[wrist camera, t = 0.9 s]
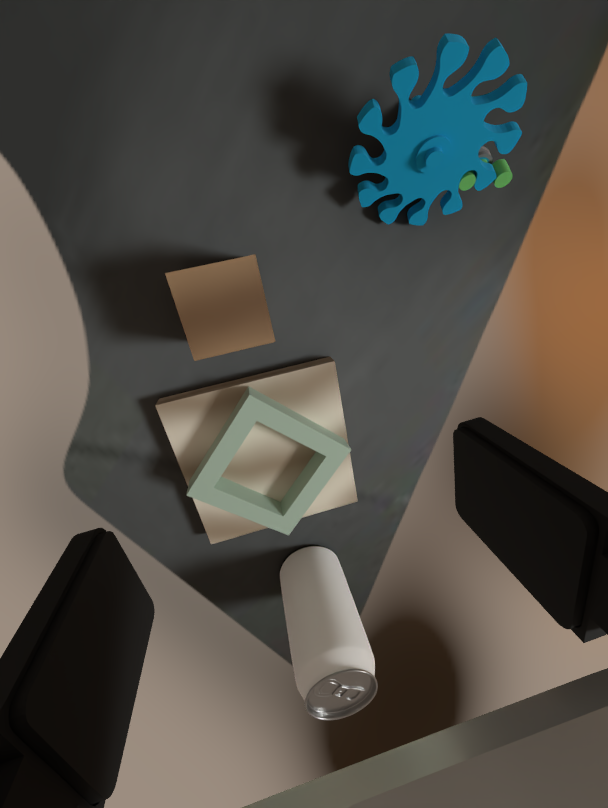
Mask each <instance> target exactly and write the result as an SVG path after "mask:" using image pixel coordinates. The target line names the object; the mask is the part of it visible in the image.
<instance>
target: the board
mask: <svg viewBox="0 0 608 808" xmlns="http://www.w3.org/2000/svg"><path fill="white" fill-rule="evenodd" d="M248 386H249V387H251V388H253V389H255V390H256V391H258V392H260V393H262V394H264V395H266V396H267V397H269V398H271V399H273V400H275V401H276V402H278V403H280V404H282V405H284V406H286V407H287V408H289V409H291V410H293V411H295V412H297V413H298V414H300V415H302V416H304V417H306V418H308V419H309V420H311V421H313V422H315V423H317V424H318V425H320V426H322V427H324V428H326V429H328V430H329V431H331V432H333V433H335V434H337V435H339V436H340V437H342V438H344V439H345V441H346V442H347V444H348V440H347V434H346V428H345V421H344V415H343V409H342V403H341V397H340V391H339V385H338V379H337V373H336V367H335V361H334V360H333V359H332V358H331V357H326V358H322V359H318V360H314V361H310V362H306V363H302V364H298V365H294V366H290V367H286V368H282V369H278V370H273V371H269V372H265V373H261V374H257V375H253V376H249V377H245V378H241V379H237V380H233V381H229V382H225V383H221V384H217V385H212V386H208V387H204V388H200V389H196V390H192V391H188V392H184V393H180V394H176V395H172V396H168V397H164V398H160V399H159V400H158V402H157V403H156V405H155V406H156V409H157V411H158V414H159V416H160V418H161V421H162V423H163V426H164V428H165V431H166V433H167V436H168V438H169V441H170V443H171V446H172V448H173V451H174V453H175V456H176V458H177V461H178V463H179V466H180V468H181V471H182V473H183V475H184V478H185V480H186V483H187V485H189V481H190V479H191V477H192V476H193V474H194V473H195V471H196V469H197V468H198V466H199V465H200V463H201V461H202V460H203V458H204V457H205V455H206V453H207V452H208V450H209V448H210V447H211V445H212V444H213V442H214V440H215V439H216V437H217V436H218V434H219V432H220V431H221V429H222V428H223V426H224V424H225V423H226V421H227V420H228V418H229V416H230V415H231V413H232V412H233V410H234V408H235V407H236V405H237V404H238V402H239V400H240V399H241V397H242V395H243V394H244V392H245V391H246V389H247V387H248ZM315 452H316V451H315V450H313V449H311V448H309V447H307V446H305V445H303V444H301V443H299V442H297V441H295V440H293V439H291V438H289V437H287V436H285V435H283V434H281V433H280V432H278V431H276V430H274V429H272V428H270V427H268V426H266V425H264V424H262V423H260V422H258V421H256V423H255V424H254V426H253V427H252V429H251V431H250V432H249V434H248V435H247V437H246V438H245V440H244V441H243V443H242V445H241V446H240V448H239V449H238V451H237V452H236V454H235V455H234V457H233V458H232V460H231V462H230V463H229V465H228V466H227V468H226V469H225V471H224V472H223V474H222V476H221V477H223V478H226V479H228V480H230V481H233V482H235V483H237V484H240V485H242V486H244V487H247V488H249V489H252V490H254V491H256V492H259V493H261V494H263V495H266V496H268V497H270V498H273V499H275V500H277V501H280V502H281V500H282V499H283V498H284V496H285V495H286V493H287V492H288V490H289V489H290V488H291V486H292V485H293V483H294V482H295V481H296V479H297V478H298V476H299V475H300V473H301V472H302V471H303V469H304V468H305V466H306V465H307V464H308V462H309V461H310V459H311V458H312V456H313V455H314V454H315ZM193 500H194V503H195V505H196V508H197V510H198V513H199V515H200V518H201V520H202V523H203V525H204V528H205V530H206V532H207V535H208V537H209V540H210V542H211V544H214V543H217V542H221V541H224V540H228V539H231V538H234V537H238V536H241V535H245V534H248V533H251V532H255V531H258V530H262V529H265V528H268V527H266V526H263V525H261V524H258V523H256V522H253V521H251V520H248V519H246V518H243V517H240V516H238V515H235V514H233V513H230V512H228V511H225V510H223V509H220V508H217V507H215V506H212V505H210V504H207V503H205V502H202V501H200V500H197V499H194V498H193ZM353 502H357V495H356V489H355V482H354V476H353V470H352V464H351V458H350V452H349V454H348V455H347V456H346V458H345V459H344V460H343V462H342V463H341V465H340V466H339V467H338V469H337V470H336V471H335V473H334V474H333V475H332V477H331V478H330V480H329V481H328V482H327V484H326V485H325V486H324V488H323V489H322V490H321V492H320V493H319V495H318V496H317V497H316V499H315V500H314V501H313V503H312V504H311V506H310V507H309V508H308V510H307V511H306V512H305V514H304V515H303V516H302V517H306V516H309V515H313V514H316V513H319V512H323V511H326V510H330V509H333V508H336V507H340V506H343V505H347V504H350V503H353Z"/></svg>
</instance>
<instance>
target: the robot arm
mask: <svg viewBox="0 0 608 808" xmlns="http://www.w3.org/2000/svg"><path fill="white" fill-rule="evenodd" d="M453 443H454V473H455V503H456V509H457V511H458V514H459V515H460V517H461V518H462V519H463V520H464V521H465V522H466V524H467V525H468V526H469V527H470V528H471V529H472V530H473V531H474V532H475V533H476V534H477V536H479V538H480V539H481V540H482V541H483V542H484V543H485V544H486V545H487V546H488V548H489V549H490V550H491V551H492V552H493V553H494V554H495V555H496V556H497V557H498V558H499V560H500V561H501V562H502V563H503V564H504V565H505V566H506V567H507V568H508V569H509V570H510V572H511V573H512V574H514V576H515V577H516V578H517V579H518V580H519V581H520V582H521V584H522V585H523V586H524V587H525V588H526V589H527V590H528V591H529V592H530V593H531V594H532V595H533V597H534V598H535V599H536V600H537V601H538V602H539V603H540V604H541V605H542V606H543V608H544V609H545V610H546V611H547V612H548V613H549V614H550V615H551V616H552V617H553V618H554V619H555V621H556V622H557V623H558V624H559V625H560V626H562V627H563V628H565V629H571V630H572V631H573V632H574V633H575V634H576V635H577V636H578V637H579V638H580V639H581V640H582V642H583V643H585V642H588V641H591V640H593V639H596V638H599V637H601V636H604V635H606V634H607V635H608V492H606V491H604V490H603V489H601V488H600V487H598V486H596V485H595V484H593V483H591V482H590V481H588V480H586V479H585V478H583V477H581V476H580V475H578V474H576V473H575V472H573V471H571V470H569V469H568V468H566V467H564V466H563V465H561V464H559V463H558V462H556V461H554V460H553V459H551V458H549V457H548V456H546V455H544V454H543V453H541V452H539V451H537V450H536V449H534V448H533V447H531V446H529V445H528V444H526V443H524V442H522V441H521V440H519V439H517V438H516V437H514V436H512V435H511V434H509V433H507V432H506V431H504V430H502V429H501V428H499V427H497V426H496V425H494V424H492V423H491V422H489V421H487V420H485V419H484V418H481V417H480V418H475V419H472V420H468V421H465V422H462V423H460V424H459V425H458V428H457V430H455V431H454V433H453ZM153 619H154V604H153V601H152V599H151V598H150V596H149V594H148V592H147V591H146V589H145V587H144V585H143V584H142V582H141V580H140V578H139V577H138V575H137V573H136V571H135V570H134V568H133V566H132V564H131V563H130V561H129V559H128V558H127V556H126V554H125V552H124V550H123V549H122V547H121V545H120V543H119V542H118V540H117V538H116V536H115V535H114V534H113V532H111V531H108V532H106V530H104V529H103V528H97V529H94V530H90V531H87V532H84V533H80V534H77V535H75V536H74V537H73V538H72V539H71V541H70V543H69V544H68V546H67V548H66V549H65V551H64V553H63V554H62V556H61V558H60V560H59V561H58V563H57V564H56V566H55V568H54V569H53V571H52V573H51V575H50V576H49V578H48V580H47V581H46V583H45V585H44V586H43V588H42V590H41V591H40V593H39V595H38V596H37V598H36V600H35V601H34V603H33V605H32V606H31V608H30V610H29V611H28V613H27V615H26V616H25V618H24V620H23V621H22V623H21V625H20V626H19V628H18V630H17V632H16V633H15V635H14V637H13V638H12V640H11V642H10V643H9V645H8V647H7V648H6V650H5V652H4V653H3V655H2V657H1V658H0V808H104V804H105V800H106V799H108V798H109V797H110V796H111V795H112V793H113V791H114V788H115V785H116V782H117V777H118V772H119V768H120V764H121V759H122V755H123V750H124V746H125V742H126V738H127V733H128V729H129V724H130V720H131V715H132V711H133V706H134V702H135V698H136V694H137V689H138V685H139V680H140V676H141V672H142V667H143V663H144V658H145V654H146V650H147V645H148V641H149V636H150V631H151V627H152V623H153ZM242 808H608V668H607V669H604V670H601V671H599V672H596V673H593V674H590V675H587V676H585V677H582V678H580V679H577V680H574V681H572V682H569V683H566V684H564V685H561V686H558V687H556V688H553V689H550V690H548V691H545V692H543V693H540V694H537V695H534V696H532V697H529V698H527V699H524V700H521V701H519V702H516V703H513V704H511V705H508V706H505V707H503V708H500V709H498V710H495V711H492V712H489V713H487V714H484V715H482V716H479V717H476V718H474V719H471V720H468V721H466V722H463V723H460V724H458V725H455V726H452V727H450V728H447V729H445V730H442V731H439V732H437V733H434V734H432V735H429V736H427V737H424V738H421V739H419V740H416V741H413V742H411V743H408V744H406V745H403V746H401V747H398V748H395V749H392V750H390V751H387V752H385V753H382V754H379V755H377V756H374V757H372V758H370V759H366V760H364V761H361V762H359V763H356V764H353V765H351V766H348V767H346V768H343V769H340V770H338V771H335V772H333V773H330V774H327V775H325V776H323V777H320V778H317V779H315V780H312V781H309V782H307V783H304V784H302V785H299V786H296V787H294V788H291V789H289V790H286V791H284V792H281V793H278V794H276V795H273V796H271V797H268V798H266V799H263V800H260V801H258V802H255V803H253V804H250V805H248V806H245V807H242Z"/></svg>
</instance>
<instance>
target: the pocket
mask: <svg viewBox="0 0 608 808" xmlns="http://www.w3.org/2000/svg"><path fill="white" fill-rule="evenodd" d="M256 421H258V422H260V423H262V424H264V425H266V426H268V427H270V428H272V429H274V430H276V431H278V432H280V433H281V434H283V435H285V436H287V437H289V438H291V439H293V440H295V441H297V442H299V443H301V444H303V445H305V446H307V447H309V448H311V449H313V450H315V451H316V452H315V454H314V455H313V456H312V458H311V459H310V461H309V462H308V464H307V465H306V466H305V468H304V469H303V471H302V472H301V473H300V475H299V476H298V478H297V479H296V481H295V482H294V483H293V485H292V486H291V488H290V489H289V490H288V492H287V493H286V495H285V496H284V498H283V499H282V500H281V502H280V501H277V500H275V499H273V498H270V497H268V496H266V495H263V494H261V493H259V492H256V491H254V490H252V489H249V488H247V487H244V486H242V485H240V484H237V483H235V482H233V481H230V480H228V479H226V478H223V477H221V476H222V474H223V472H224V471H225V469H226V468H227V466H228V465H229V463H230V462H231V460H232V458H233V457H234V455H235V454H236V452H237V451H238V449H239V448H240V446H241V445H242V443H243V441H244V440H245V438H246V437H247V435H248V434H249V432H250V431H251V429H252V427H253V426H254V424H255V423H256ZM350 451H351V448H350V447H349V445H348V444H347V442H346V441H345V439H344V438H342V437H340V436H339V435H337V434H335V433H333V432H331V431H329V430H328V429H326V428H324V427H322V426H320V425H318V424H317V423H315V422H313V421H311V420H309V419H308V418H306V417H304V416H302V415H300V414H298V413H297V412H295V411H293V410H291V409H289V408H287V407H286V406H284V405H282V404H280V403H278V402H276V401H275V400H273V399H271V398H269V397H267V396H266V395H264V394H262V393H260V392H258V391H256V390H255V389H253V388H251V387H249V386H248V387H247V389H246V391H245V392H244V394H243V395H242V397H241V399H240V400H239V402H238V404H237V405H236V407H235V408H234V410H233V412H232V413H231V415H230V416H229V418H228V420H227V421H226V423H225V424H224V426H223V428H222V429H221V431H220V432H219V434H218V436H217V437H216V439H215V440H214V442H213V444H212V445H211V447H210V448H209V450H208V452H207V453H206V455H205V457H204V458H203V460H202V461H201V463H200V465H199V466H198V468H197V469H196V471H195V473H194V474H193V476H192V477H191V479H190V481H189V485H188V490H187V496H189V497H192V498H194V499H197V500H200V501H202V502H205V503H207V504H210V505H212V506H215V507H217V508H220V509H223V510H225V511H228V512H230V513H233V514H235V515H238V516H240V517H243V518H246V519H248V520H251V521H253V522H256V523H258V524H261V525H263V526H266V527H269V528H271V529H274V530H276V531H279V532H281V533H284V534H287V535H289V534H290V533H291V531H292V530H293V529H294V527H295V526H296V525H297V523H298V522H299V521H300V519H301V518H302V516H303V515H304V514H305V512H306V511H307V510H308V508H309V507H310V506H311V504H312V503H313V501H314V500H315V499H316V497H317V496H318V495H319V493H320V492H321V490H322V489H323V488H324V486H325V485H326V484H327V482H328V481H329V480H330V478H331V477H332V475H333V474H334V473H335V471H336V470H337V469H338V467H339V466H340V465H341V463H342V462H343V460H344V459H345V458H346V456H347V455H348V454H349V452H350Z"/></svg>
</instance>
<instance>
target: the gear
mask: <svg viewBox="0 0 608 808" xmlns="http://www.w3.org/2000/svg"><path fill="white" fill-rule="evenodd" d="M468 52H469V46H468V44H467V42H466V40H465V39H464V38H463V37H462V36H459V35H456V34H444V35H443V37H442V38H441V40H440V42H439V44H438V47H437V60H436V66H435V70H434V73H433V76H432V78H431V81H430V82H429V84H428V86H427V88H426V90H425V91H424V93H423V94H422V96H420V95H418V96H415V97H414V98H412V100H409V96H410V93H411V92H412V90H413V88H414V86H415V85H416V83H417V80H418V75H419V70H418V67H417V64H416V61H415V59H414V57H407V58H404V59H402V60H400V61H398V62H397V63H395V64H394V65H392V66H391V68H390V80H391V83H392V86H393V89H394V91H395V92H396V93H397V95H398V97H399V110H398V117H397V120H396V122H395V123H394V124H393V125H392V126H390V127H383V126H382V113H381V109H380V105H379V103H378V102H377V101H376V100H375V99H371V100H370V101H368V102H367V103H366V104H365V106H364V107H363V108H362V110H361V111H360V113H359V114H358V116H357V120H358V125H359V129H360V131H361V132H362V133H364V134H367V135H371V136H374V137H375V138H377V139H378V140H379V141H380V142H381V143H382V145H383V147H384V152H383V153H382V155H381V156H379V157H377V158H372V157H370V156H369V154H368V153H367V151H366V149H365V148H364V147H363V146H361V145H356V146H354V147H353V149H352V151H351V153H350V157H349V163H348V166H349V172H350V174H352V175H354V176H358V175H361V174H364V173H378V174H381V175H383V176H385V177H386V178H385V180H384V181H383V182H382V183H379V184H375V183H373V182H370V181H362V182H360V183H359V184H358V195H359V200H360V203H361V206H362V207H368V206H370V205H371V204H372V203H373V202H374V201H376V200H377V199H379V198H381V197H383V196H385V195H389V194H395V193H399V194H400V195H399V196H398V197H397V198H396V199H393V200H387V201H384V202H382V203H381V204H380V205H379V206H378V213H379V217H380V218H381V220H382V221H384V222H385V223H387V224H391V223H392V222H394V221H395V219H396V218H397V215H398V214H399V212H400V211H401V210H402V209H403V208H404V207H405V206H406V205H407V204H409V203H410V202H412V201H414V200H415V199H418V198H422V199H421V201H420V202H418V203H417V204H415V205H413V206H412V207H411V208H410V209H409V210H408V212H407V217H408V221H409V223H410V224H412V225H423V224H425V222H426V221H427V218H428V210H429V207H430V205H431V203H432V202H433V200H434V199H435V198H436V197H437V195H438V194H439V193H440V192H442V191H444V190H448V191H447V193H446V194H445V195H444V196H443V197H442V199H441V202H440V205H441V208H442V211H443V214H444V215H447V214H451V213H454V212H456V211H459V210H461V208H462V201H461V198H460V195H459V193H458V188H460V189H461V190H468V189H470V188H471V187H472V186H473V185H474V187H475V189H476V190H478V191H480V190H482V189H484V188H485V187H487V186H488V185H489V184H491V183H492V182H494V184H495V186H496V187H497V188H501V187H504V186H506V185H507V184H508V183H509V182H510V181H511V179H512V173H511V171H510V168H509V166H508V164H507V162H506V160H504V159H500V160H497V161H496V162H494V163H493V159H492V156H491V154H490V152H489V150H488V149H487V148H486V147H484V146H483V145H484V144H485V143H486V142H488V141H494V142H495V145H496V147H497V149H498V151H499V152H500V153H501V154H507V153H509V152H510V151H511V150H512V149H513V148H514V146H515V145H516V143H517V142H518V140H519V138H520V137H521V135H522V132H521V130H520V128H519V126H518V124H517V123H516V122H513V121H512V122H508V123H505V124H501V125H490V124H488V123H486V122H484V118H485V116H486V115H487V114H488V113H489V112H490V111H491V110H492V109H494V108H502V109H503V110H505V111H506V112H514V111H516V110H518V109H520V108H521V107H522V106H523V103H524V101H525V97H526V91H527V82H526V80H525V78H524V77H523V75H522V74H517V75H514V76H512V77H511V78H509V79H508V80H507V81H506V82H505V83H504V84H503V85H501V86H500V87H499V88H497V89H496V90H494V91H492V92H490V93H488V94H485V95H481V96H474V97H471V94H472V92H473V90H474V88H475V87H476V86H477V85H478V84H479V83H481V82H483V81H487V80H493V79H496V78H498V77H499V76H501V75H502V74H503V73H504V72H505V71H506V70H507V68H508V67H509V58H508V55H507V53H506V52H505V50H504V48H503V46H502V45H501V43H500V42H499V40H498V39H497V38H494V39H492V40H491V41H490V42H488V43H487V45H486V46H485V47H484V49H483V50H482V52H481V54H480V56H479V58H478V60H477V61H476V63H475V65H474V66H473V67H472V68H471V70H470V71H469V72H468V73H467V74H466V75H465V76H464V77H463V78H462V79H461V80H459V81H458V82H457V83H456V84H454V85H453V86H451V87H450V88H447V89H444V88H443V84H444V82H445V80H446V78H447V77H448V76H449V75H450V74H452V73H453V72H454V71H456V70H457V69H458V68H459V67H460V66H461V65H462V64H463V63H464V61H465V60H466V57H467V55H468ZM492 163H493V164H492Z"/></svg>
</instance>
